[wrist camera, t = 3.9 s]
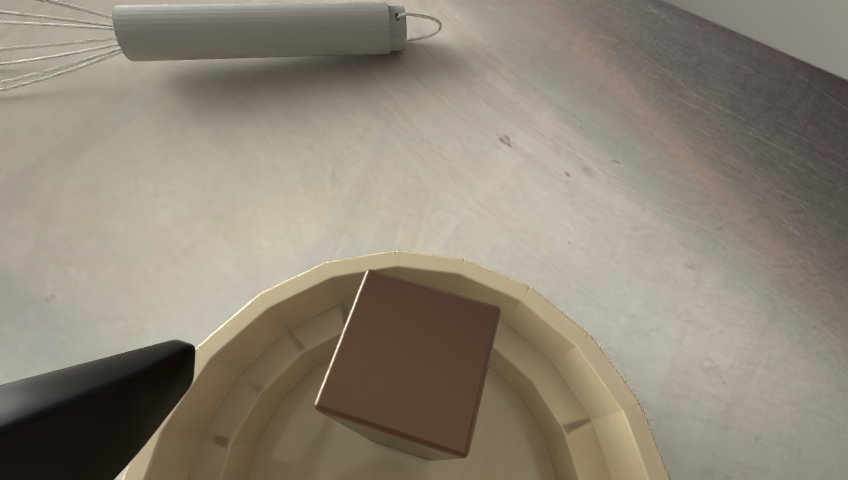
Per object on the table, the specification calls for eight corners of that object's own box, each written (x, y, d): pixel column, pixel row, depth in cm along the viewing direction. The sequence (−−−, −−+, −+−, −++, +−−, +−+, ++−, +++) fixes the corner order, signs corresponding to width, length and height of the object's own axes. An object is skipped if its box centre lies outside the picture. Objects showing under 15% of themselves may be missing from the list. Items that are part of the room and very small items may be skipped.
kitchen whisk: (449, 80, 25) (459, -29, 20) (-206, 144, 22) (-415, 36, 17) (431, 11, 28) (436, -103, 22) (-155, 59, 25) (-320, -58, 19)
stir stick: (432, 462, 16) (467, 460, 6) (370, 441, 16) (310, 408, 7) (449, 395, 17) (502, 305, 7) (391, 377, 17) (366, 266, 8)
